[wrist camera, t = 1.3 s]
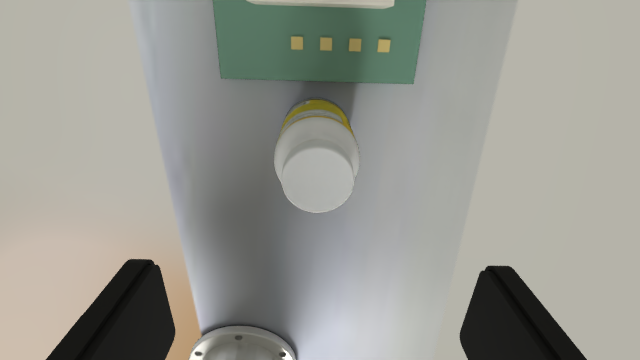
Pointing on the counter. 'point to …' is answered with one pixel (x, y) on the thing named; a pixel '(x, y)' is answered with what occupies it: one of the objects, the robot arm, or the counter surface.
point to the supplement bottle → (316, 156)
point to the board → (319, 39)
